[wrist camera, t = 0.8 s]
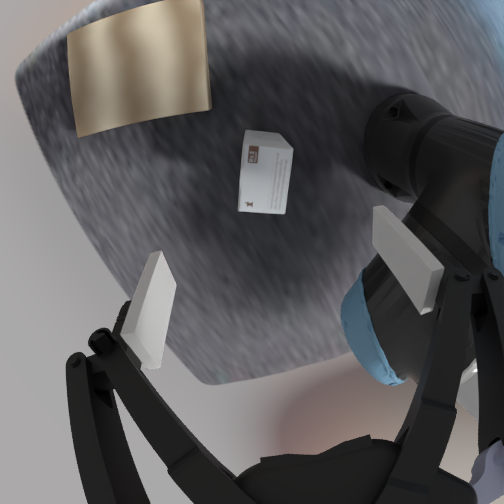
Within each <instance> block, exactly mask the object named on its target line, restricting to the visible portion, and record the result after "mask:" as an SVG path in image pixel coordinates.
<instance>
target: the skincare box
mask: <svg viewBox="0 0 504 504" xmlns="http://www.w3.org/2000/svg"><path fill="white" fill-rule="evenodd" d="M293 150H294V149H293V148H292V147H291V146H290V145H289V143H288V142H287V141H286V140H285V139H284V138H283V137H282V136H281V135H280V134H279V133H273V132H264V131H255V130H245V135H244V140H243V149H242V159H241V170H240V181H239V198H238V211H242V212H257V213H271V214H285V211H286V203H287V196H288V189H289V181H290V174H291V166H292V158H293Z"/></svg>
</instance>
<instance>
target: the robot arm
mask: <svg viewBox="0 0 504 504" xmlns="http://www.w3.org/2000/svg"><path fill="white" fill-rule="evenodd" d="M364 156H365V161H366V164H367V167H368V170H369V172H370V174H371V176H372V178H373V179H374V180H375V182H376V183H377V184H378V185H379V186H380V187H381V188H382V189H383V190H384V191H386V192H387V193H388V194H390V195H391V196H392V197H394V198H396V199H398V200H401V201H404V202H408V203H413V204H414V205H413V206H412V208H411V209H410V211H409V212H408V213H407V214H406V216H405V217H404V218H403V220H402V221H400V220H399V219H398V218H397V217H396V216H395V215H394V214H393V213H392V212H391V211H390V210H388V209H387V208H386V207H385V206H384V205H381V206H375V207H373V238H372V245H373V246H374V248H375V249H376V250H377V252H378V253H377V255H376V256H375V257H374V258H373V260H372V261H371V262H370V263H369V265H368V266H367V267H365V268H364V269H363V270H362V272H361V273H360V274H359V278H358V279H357V281H356V282H355V283H354V285H353V286H352V287H351V288H350V290H349V291H348V292H347V294H346V295H345V297H344V299H343V301H342V305H341V323H342V327H343V329H344V332H345V337H346V339H347V342H348V344H349V346H350V348H351V350H352V352H353V353H354V355H355V357H356V358H357V360H358V361H359V362H360V364H361V365H362V366H363V367H364V369H365V370H366V371H367V372H368V373H369V374H370V375H371V376H372V377H373V378H375V379H376V380H378V381H379V382H381V383H383V384H386V385H387V384H389V385H391V386H395V385H398V384H401V383H403V382H405V381H406V380H407V378H408V377H409V378H411V379H413V380H414V381H415V382H416V383H417V384H418V386H417V389H416V392H415V395H414V398H413V400H412V403H411V405H410V408H409V411H408V413H407V416H406V418H405V421H404V423H403V425H402V427H401V429H400V431H399V433H398V435H397V437H396V439H395V441H394V442H392V441H388V440H383V439H371V437H370V435H366V436H362V437H359V438H356V439H353V440H349V441H345V442H343V443H341V444H339V445H337V446H335V447H333V448H331V449H329V450H327V451H325V452H323V453H320V454H318V455H300V454H299V455H298V454H283V455H278V456H269V457H263V458H262V457H261V458H260V460H261V463H258V464H256V465H254V466H252V467H250V468H248V469H246V470H245V471H244V472H242V473H241V474H240V475H239V476H238V477H236V476H235V475H234V474H233V473H232V472H231V471H230V470H228V469H227V468H226V467H225V466H224V465H223V464H221V463H220V462H219V461H218V460H217V459H216V458H215V457H214V456H213V455H212V454H211V453H210V452H209V451H208V450H207V449H206V448H205V447H204V446H203V444H202V443H201V442H200V441H199V440H198V439H197V438H196V437H195V436H194V435H193V434H192V433H191V432H190V431H189V429H188V428H187V427H186V426H185V425H184V424H183V423H182V421H181V420H180V419H179V418H178V417H177V416H176V414H175V413H174V412H173V411H172V410H171V408H170V407H169V406H168V405H167V403H166V402H165V401H164V400H163V398H162V397H161V396H160V395H159V393H158V392H157V391H156V389H155V388H154V387H153V386H152V384H151V383H150V382H149V380H148V379H147V378H146V376H145V375H144V373H143V372H142V371H141V370H140V368H141V364H143V365H144V367H145V368H146V369H160V367H161V361H162V355H163V349H164V344H165V339H166V333H167V328H168V323H169V318H170V313H171V309H172V304H173V299H174V295H175V290H176V286H177V285H176V283H175V280H174V278H173V276H172V274H171V271H170V269H169V267H168V265H167V262H166V260H165V258H164V255H163V253H162V251H157V252H153V253H150V255H149V258H148V260H147V263H146V265H145V268H144V270H143V273H142V275H141V278H140V280H139V283H138V286H137V288H136V291H135V293H134V296H133V299H132V300H130V301H126V302H125V304H124V305H123V306H122V308H121V310H120V312H119V316H118V317H117V322H116V323H115V326H114V329H113V331H112V333H111V331H110V330H109V329H108V328H100V329H98V330H96V331H95V332H94V333H92V335H91V336H90V338H89V340H88V345H89V347H90V348H91V349H92V350H93V351H94V353H95V354H94V355H92V356H89V357H86V356H85V355H84V354H83V353H82V352H77V353H74V354H73V355H71V356H70V357H69V358H68V360H67V362H66V383H67V384H66V385H67V397H68V408H69V416H70V425H71V432H72V438H73V444H74V449H75V455H76V459H77V464H78V469H79V473H80V477H81V481H82V484H83V489H84V492H85V496H86V499H87V503H88V504H150V501H149V499H148V496H147V494H146V492H145V489H144V487H143V484H142V482H141V479H140V477H139V475H138V472H137V469H136V466H135V464H134V461H133V458H132V455H131V452H130V449H129V446H128V443H127V440H126V437H125V433H124V430H123V427H122V423H121V420H120V416H119V412H118V408H117V405H116V400H115V396H114V392H113V389H115V390H116V392H117V393H118V395H119V397H120V399H121V400H122V402H123V404H124V405H125V407H126V409H127V410H128V412H129V413H130V415H131V416H132V418H133V420H134V421H135V423H136V424H137V426H138V427H139V429H140V430H141V432H142V433H143V435H144V436H145V438H146V439H147V440H148V442H149V443H150V445H151V446H152V447H153V449H154V450H155V451H156V453H157V454H158V456H159V457H160V458H161V459H162V461H163V462H164V463H165V465H166V466H167V468H168V470H167V471H168V474H169V475H170V476H171V478H172V479H173V480H174V482H175V483H176V484H177V485H178V486H179V487H180V488H181V490H182V491H183V492H184V493H185V494H186V495H187V496H188V498H189V499H190V500H191V501H192V502H193V503H194V504H489V503H491V502H492V501H494V500H496V499H497V498H499V497H500V496H502V495H504V130H501V129H498V128H495V127H492V126H489V125H486V124H483V123H479V122H476V121H472V120H469V119H465V118H461V117H458V116H454V115H453V114H452V113H451V112H449V111H448V110H447V109H446V108H444V107H443V106H442V105H440V104H439V103H438V102H436V101H435V100H433V99H431V98H429V97H426V96H423V95H418V94H409V93H405V94H398V95H395V96H392V97H390V98H388V99H387V100H385V101H384V102H383V103H381V104H380V105H379V106H378V107H377V109H376V110H375V111H374V113H373V114H372V116H371V118H370V120H369V122H368V125H367V127H366V131H365V136H364ZM456 401H457V402H458V403H459V404H460V405H461V406H463V407H464V408H465V409H466V410H467V411H468V412H469V413H470V414H471V415H472V416H473V417H474V418H475V419H476V420H477V421H478V422H479V426H478V447H479V455H478V456H477V458H476V460H475V462H474V465H473V467H472V471H471V472H472V478H471V480H470V482H469V483H468V482H466V481H464V480H462V479H460V478H458V477H456V476H454V475H452V474H450V473H448V472H447V471H444V470H443V469H441V468H439V465H440V462H441V460H442V457H443V455H444V452H445V449H446V446H447V443H448V441H449V438H450V435H451V431H452V428H453V425H454V421H455V418H456V414H457V409H456V408H455V402H456Z"/></svg>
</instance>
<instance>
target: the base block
mask: <svg viewBox="0 0 504 504" xmlns="http://www.w3.org/2000/svg"><path fill="white" fill-rule="evenodd" d="M67 47H68V66H69V78H70V88H71V97H72V105H73V112H74V118H75V125H76V131H77V136H78V138H80V137H83V136H87V135H90V134H94V133H97V132H101V131H104V130H108V129H112V128H116V127H120V126H124V125H128V124H133V123H137V122H142V121H146V120H151V119H156V118H162V117H167V116H173V115H179V114H186V113H192V112H200V111H207V110H210V109H212V99H211V89H210V78H209V66H208V55H207V42H206V29H205V16H204V4H203V2H202V0H164V1H160V2H156V3H152V4H148V5H144V6H140V7H137V8H134V9H130V10H127V11H124V12H121V13H118V14H115V15H112V16H109V17H107V18H104V19H101V20H99V21H96V22H93V23H91V24H89V25H86V26H84V27H81V28H79V29H77V30H75V31H73V32H70V33H68V34H67Z"/></svg>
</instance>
